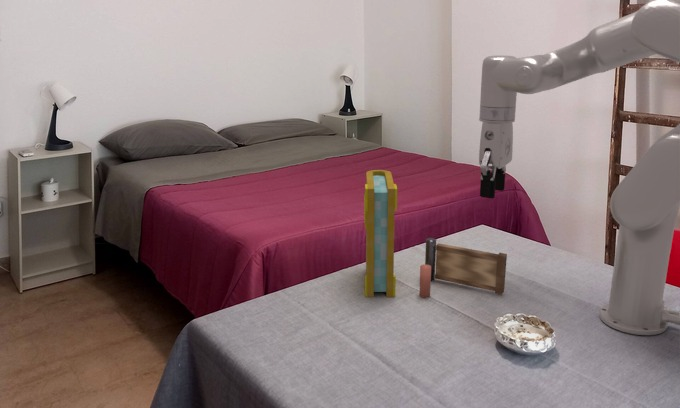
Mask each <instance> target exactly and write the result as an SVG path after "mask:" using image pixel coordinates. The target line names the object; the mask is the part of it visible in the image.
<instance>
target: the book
mask: <svg viewBox="0 0 680 408" xmlns="http://www.w3.org/2000/svg"><path fill="white" fill-rule="evenodd" d="M365 174H366V175H365V176H366V177H365V178H366V179H365V181H366V183H365V184H364V192H365V193H363V194H364V195H363V197H364V201H363V203H364V204H363V211H364V212H363V213H364V229H365V231H366V232H365V240H366V241H365V275H364V297H365V298H373V297H375V293H377V292H378V293H386V294H385V295H386V298H396V282H397V281H396V275H395V274H394V272H395V271H394V265H395V264H394V263H395V259H394V258H395V214H396V213H395V211H397V210H398V186H397V184H396V183H394V179H393V175H392V172H391V171H389V170H385V169H373V170H372V169H371V170H368V171H366V172H365Z"/></svg>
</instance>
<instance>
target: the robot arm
mask: <svg viewBox="0 0 680 408" xmlns="http://www.w3.org/2000/svg"><path fill="white" fill-rule="evenodd" d="M654 55H658V56H660V57H662V58H666V59H668V60H671V61H674V62H676V63H678V64H680V0H650V1H649V2H645V4H644V5H642V6H641V7H640V8H639V9H638V10H636V11H634V12H632V13H629V14H627V15H624V16H622V17H619V18H618V19H615V20H612V21H609V22H607V23H604V24H602V25H599V26H596V27H594V28H593V29H591V30H590V31H589V32H588V34H587V35H586V36H584V37H583V38H581V39H580V40H577V41H576V42H574V43H571V44H569V45H566V46H564V47H562V48H559V49H556V50H554V51H551V52H547V53H544V54H535V55H530V56H524V57H523V56H522V57H516V56H512V55H490V56H489V55H488V56H486V57H485V58H484V59H483V60H482V66H481V67H482V68H481V69H482V70H481V82H480V83H481V84H480V100H479V102H480V103H479V104H480V105H479V118H478V120H479V122H480V123H481V122H482V123H481V124H482V125H481V131H480V142H479V150H478V152H479V153H478V164H479V167H480V186H479V187H480V188H479V197H481V198H486V199H495V196H496V191H499V192H503V191H504V190H505V186H506V185H505V184H506V170H507V169H506V168H507V167H506V166H507V165H508V164H510V163H511V162H512V160H513V148H514V147H513V145H514V144H513V143H514V142H513V141H514V136H513V135H514V126H513V123H514V122H515V121H516V109H517V108H516V107H517V94H523V95H533V94H538V93H541V92H545V91H549V90H554V89H556V88H559V87H562V86H564V85H565V86H566V85H568V84H571V83H573V82H576V81H579V80H582V79H585V78H587V77H590V76H593V75H595V74H601V73H605V72H609V71H611V70H615V69H617V68H619V67H623V66H625V65H628V64H631V63H633V62H637V61H640V60H642V59H645V58H648V57H652V56H654ZM609 201H610V202H609V207H610V209H609V210H610V213H611V215H612V217H613V220H615V222H617V224H619V227H618V234H617V240H616V246H615V247H616V248H615V253H614V261H613V262H614V263H613V271H612V279H611V286H610V292H609V293H610V294H609V302H608V303H605V304H604V305H603V306H601V307H600V310H599V318H600V320H601V321H602V322H603V323H604V324H605V325H607V326H608V327H610V328H613V329H615V330H617V331H620V332H622V333H626V334H630V335H636V336H637V335H638V336H639V335H640V336H655V335H659V334H662V333H664V332H666V330H667V329H668V325H669V323H670V324H674V325H677V326H680V311H679V310H672V309H668V308H667V307H665V300H664V294H665V287H666V281H667V273H668V267H669V262H670V254H671V250H672V243H673V238H674V233H675V232H674V231H675V227H676V223H677V219H678V215H679V212H680V211H679V210H680V123H678V124H677V125H676V127H674V128H672V129H671V130H669V131H668V132H666V133H664V134H663V135H661V136H660V137H659V138H658V139H657V140H655V142H654V143H653V144H652V145H651V146H650V147H649V148H648V149H647V150H646V152H645V153H644V154H643V155H642V156H641V158H640V159H639V160H638V161H637V162H636V163H635V165H634V166H633V167H632V168H631V170H630V171H629V172H628V173H627V174H626V175H625V177H623V179H622V180H621V181H620V182H619V183H618V185H617V186H616V188H614V190H613V192H612V194H611V197H610V200H609Z"/></svg>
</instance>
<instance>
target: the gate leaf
mask: <svg viewBox="0 0 680 408" xmlns="http://www.w3.org/2000/svg"><path fill="white" fill-rule="evenodd" d="M507 257H508V254H507V253H502V252H499V253H493V252H488V251H481V250H477V249H472V248H465V247H461V246H456V245H450V244H444V243H439V242H438V243H436V261H435V280H439V281H444V282H449V283H453V284H459V285H463V286H466V287H467V286H468V287H472V288H477V289H480V290H481V289H482V290H486V291H492V292H494V294H496V295H500V296H502V295H503V294H505V284H506V272H507V271H506V270H507Z"/></svg>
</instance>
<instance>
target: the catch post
mask: <svg viewBox="0 0 680 408" xmlns="http://www.w3.org/2000/svg"><path fill="white" fill-rule="evenodd" d="M431 284H432V281H431V266H430V265H426V264H425V263H424V264H421V265H420V266H419V291H418V292H419V295H418V296H419V297H421V298H423V299H428V298H430V297H431V288H432V287H431Z"/></svg>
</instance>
